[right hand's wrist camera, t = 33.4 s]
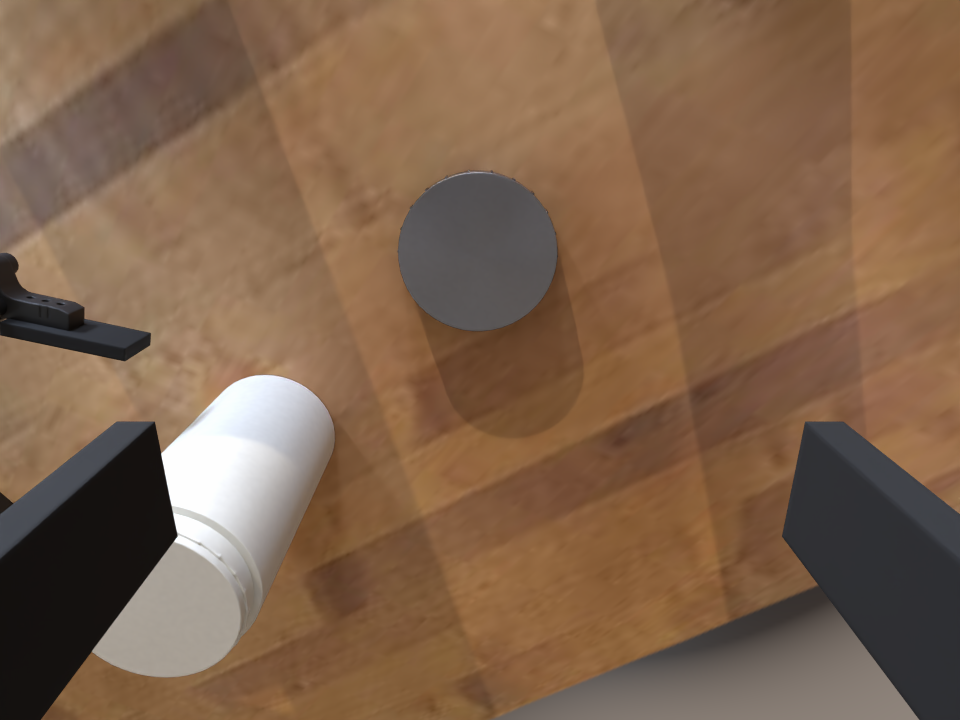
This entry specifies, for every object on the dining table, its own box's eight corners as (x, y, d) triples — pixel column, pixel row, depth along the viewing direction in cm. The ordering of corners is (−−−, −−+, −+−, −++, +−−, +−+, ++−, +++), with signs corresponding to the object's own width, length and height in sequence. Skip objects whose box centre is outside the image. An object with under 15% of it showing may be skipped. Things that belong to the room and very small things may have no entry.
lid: (377, 284, 40) (372, 291, 38) (441, 140, 37) (439, 140, 35) (510, 347, 41) (511, 357, 39) (582, 213, 38) (587, 217, 36)
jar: (238, 352, 41) (84, 493, 25) (356, 411, 43) (281, 579, 27) (191, 452, 44) (24, 638, 28) (304, 505, 45) (207, 709, 29)
